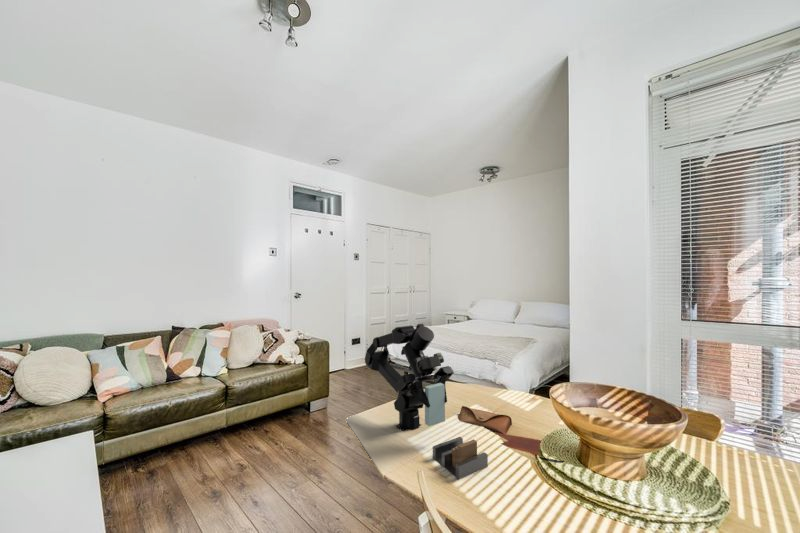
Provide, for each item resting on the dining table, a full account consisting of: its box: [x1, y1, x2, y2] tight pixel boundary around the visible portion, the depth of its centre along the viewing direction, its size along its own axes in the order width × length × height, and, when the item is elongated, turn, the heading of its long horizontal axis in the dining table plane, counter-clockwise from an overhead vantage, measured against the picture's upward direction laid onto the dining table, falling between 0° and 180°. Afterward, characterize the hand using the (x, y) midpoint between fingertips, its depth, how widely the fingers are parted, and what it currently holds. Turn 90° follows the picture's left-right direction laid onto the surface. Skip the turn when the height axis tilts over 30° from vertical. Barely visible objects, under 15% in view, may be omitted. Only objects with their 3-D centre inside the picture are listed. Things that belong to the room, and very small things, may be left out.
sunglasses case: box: [458, 405, 513, 435], centre depth 111 cm, size 18×7×7 cm
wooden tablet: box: [494, 432, 542, 458], centre depth 97 cm, size 27×10×2 cm, turn 65°
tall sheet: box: [424, 383, 446, 427], centre depth 96 cm, size 2×6×11 cm, turn 121°
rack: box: [432, 436, 489, 480], centre depth 87 cm, size 11×10×4 cm
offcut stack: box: [452, 439, 478, 469], centre depth 85 cm, size 4×6×6 cm, turn 121°
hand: (437, 404), depth 95 cm, fingers closed on tall sheet, 6 cm apart
